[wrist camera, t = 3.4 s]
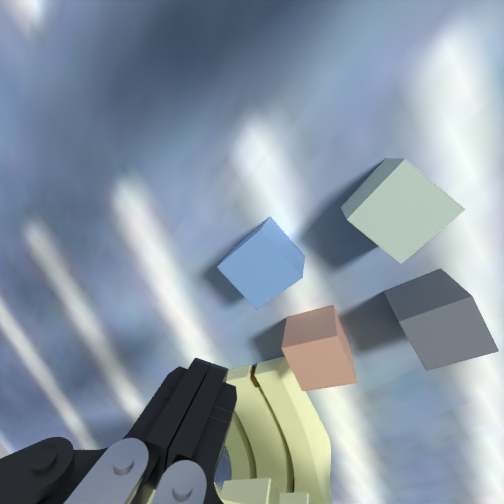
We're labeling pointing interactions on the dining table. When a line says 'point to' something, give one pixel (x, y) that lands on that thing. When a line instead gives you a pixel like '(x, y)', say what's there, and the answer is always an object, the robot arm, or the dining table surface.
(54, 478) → the robot arm
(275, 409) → the slatted curved stool
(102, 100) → the dining table surface
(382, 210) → the sage block
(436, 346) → the charcoal block
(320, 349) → the terracotta block
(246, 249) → the blue block
